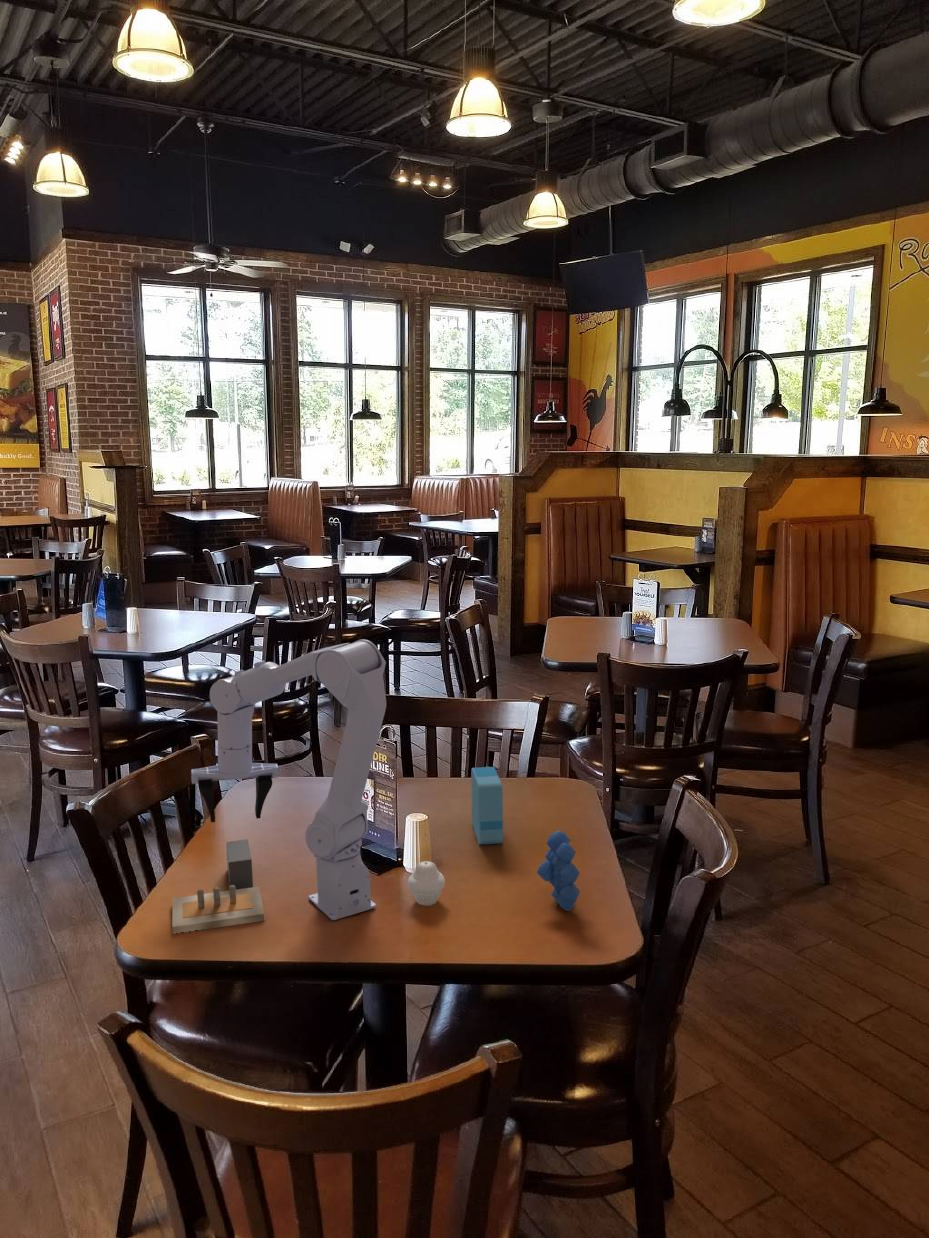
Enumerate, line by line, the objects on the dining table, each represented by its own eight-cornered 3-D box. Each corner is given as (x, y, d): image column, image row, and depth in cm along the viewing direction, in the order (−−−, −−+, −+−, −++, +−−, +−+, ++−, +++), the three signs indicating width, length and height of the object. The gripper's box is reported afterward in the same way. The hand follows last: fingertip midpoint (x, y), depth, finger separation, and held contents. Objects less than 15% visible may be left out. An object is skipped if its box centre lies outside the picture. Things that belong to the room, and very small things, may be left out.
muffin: (432, 913, 153) (431, 872, 152) (401, 904, 156) (399, 864, 155) (452, 897, 158) (451, 858, 157) (421, 889, 162) (421, 850, 160)
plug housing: (227, 869, 170) (226, 841, 169) (249, 866, 171) (247, 839, 170) (230, 890, 162) (228, 862, 161) (253, 887, 163) (251, 859, 162)
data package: (503, 846, 179) (502, 785, 177) (479, 847, 178) (478, 786, 176) (493, 821, 190) (493, 764, 188) (471, 822, 190) (471, 765, 188)
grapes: (527, 889, 161) (527, 823, 159) (565, 885, 162) (566, 819, 160) (546, 923, 150) (546, 851, 148) (587, 918, 151) (588, 847, 149)
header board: (259, 892, 161) (258, 869, 160) (264, 920, 151) (263, 896, 151) (173, 905, 157) (171, 881, 156) (172, 934, 148) (170, 909, 147)
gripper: (275, 734, 169) (274, 805, 172) (190, 739, 165) (191, 812, 167) (279, 747, 162) (279, 821, 165) (191, 752, 158) (192, 828, 161)
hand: (235, 818), depth 166 cm, fingers open, 7 cm apart
